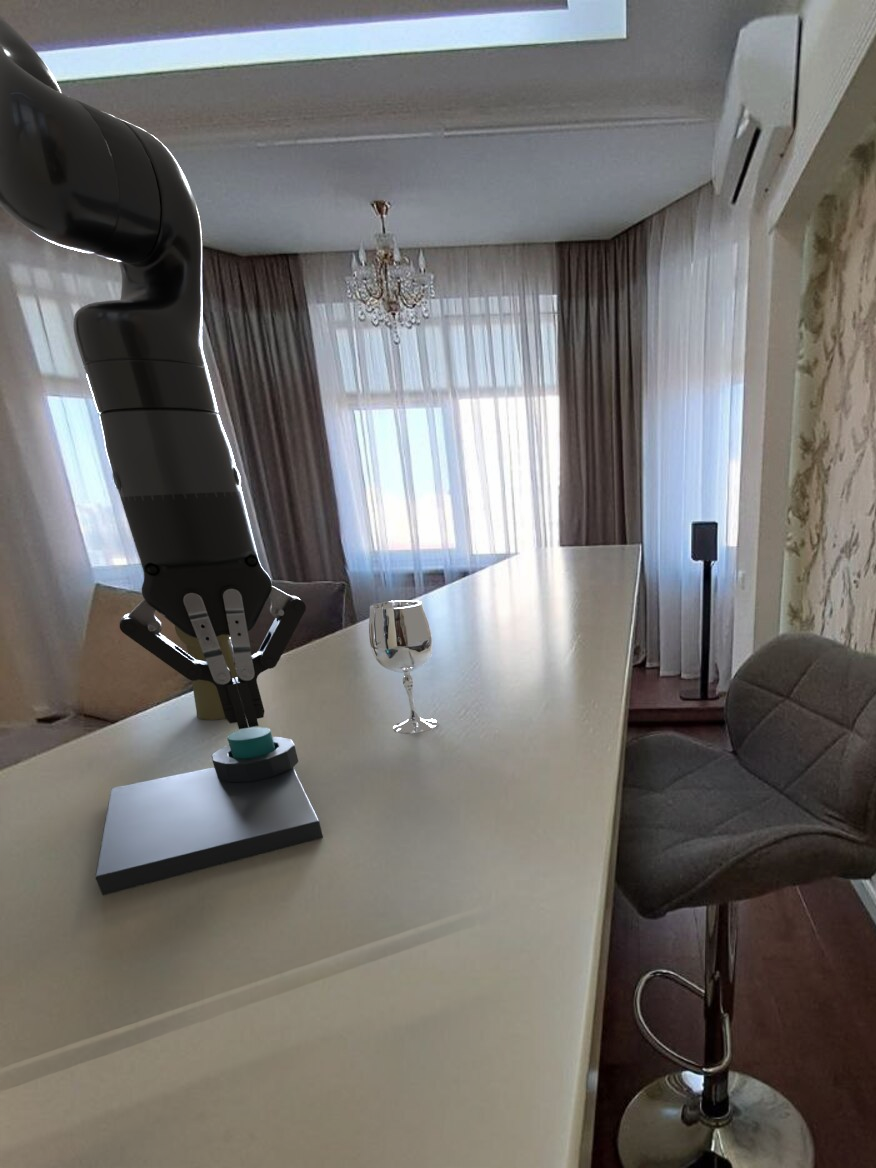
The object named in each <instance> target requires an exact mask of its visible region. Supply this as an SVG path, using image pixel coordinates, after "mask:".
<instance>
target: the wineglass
mask: <svg viewBox="0 0 876 1168" xmlns="http://www.w3.org/2000/svg"><path fill="white" fill-rule="evenodd" d="M368 615H369V617H368V618H369V619H368V635H369V645H370V648H371V652H372V654H373V657H374V659H375V660H376V661H377V663H379V665H380V666H381V667H383V668H385V669H387V670H388V671H391V672H392V671H393V672H396V673H401V674H403V678H402V684H403V687H404V689H405V691H406V694H407V697H408V703H409V708H410V709H409V710H410V713H409V717H408V719H405V720H402V721H399V722H397V723H396V724H395V725H393V726H392V731H394V732H396V733H399V734H417V733H423V732H426V731H430V730H432V729H434V728H437V727H438V725H439V723H438V721H437V719H433V718H426V717H421V716H419V714H418V713H417V710H416V706H415V700H414V686H415V681H414V678H413V676H412V675H411V672H412V673H413V672H414V671H416V670H419V669H421V668H422V667H423V666H425V665H426V664H428V662H429V661H430V659H431V657H432V654H433V649H434V641H433V640H434V639H433V633H432V629H431V626H430V623H429V620H428V616H427V614H426V611H425V608H424V606H423V604H422V601H419V600H391V601H385V602H379V603H373V604H372V605H370V606H369V614H368Z"/></svg>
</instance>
